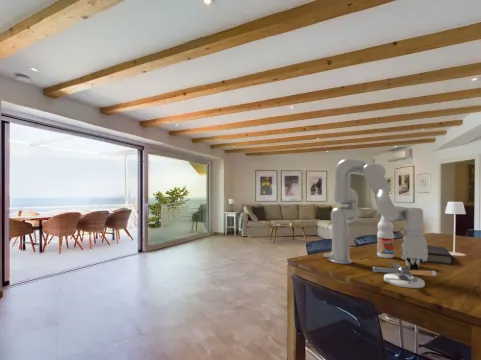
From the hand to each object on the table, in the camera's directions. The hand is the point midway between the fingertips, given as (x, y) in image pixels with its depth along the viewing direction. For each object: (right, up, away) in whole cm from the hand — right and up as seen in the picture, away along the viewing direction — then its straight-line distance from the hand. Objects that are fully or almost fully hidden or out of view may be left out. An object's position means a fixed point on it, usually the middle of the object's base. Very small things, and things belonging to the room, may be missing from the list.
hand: (414, 272), depth 134 cm
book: (+38, -6, +44) cm, 58 cm away
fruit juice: (+10, -5, +45) cm, 47 cm away
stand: (-8, -2, -6) cm, 11 cm away
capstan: (-8, -1, -6) cm, 10 cm away
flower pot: (+13, -4, +22) cm, 26 cm away
